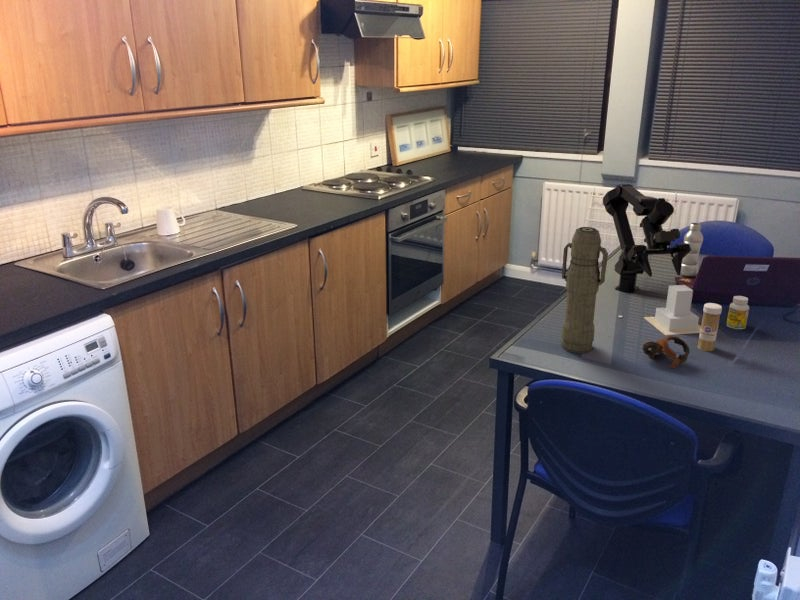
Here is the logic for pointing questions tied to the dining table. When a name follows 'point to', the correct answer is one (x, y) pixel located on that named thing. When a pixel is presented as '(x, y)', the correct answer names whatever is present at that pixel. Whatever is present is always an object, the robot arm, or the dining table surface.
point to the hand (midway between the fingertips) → (665, 275)
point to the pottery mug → (667, 350)
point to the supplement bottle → (738, 313)
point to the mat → (666, 332)
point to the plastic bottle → (692, 250)
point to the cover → (677, 310)
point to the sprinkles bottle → (709, 326)
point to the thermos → (582, 288)
